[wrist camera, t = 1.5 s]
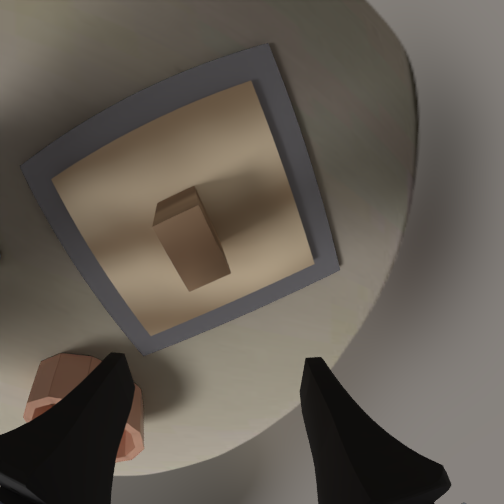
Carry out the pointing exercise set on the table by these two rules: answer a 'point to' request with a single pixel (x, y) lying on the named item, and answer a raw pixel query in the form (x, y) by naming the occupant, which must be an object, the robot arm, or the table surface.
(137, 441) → the bowl
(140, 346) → the mat
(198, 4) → the table surface
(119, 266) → the lid
